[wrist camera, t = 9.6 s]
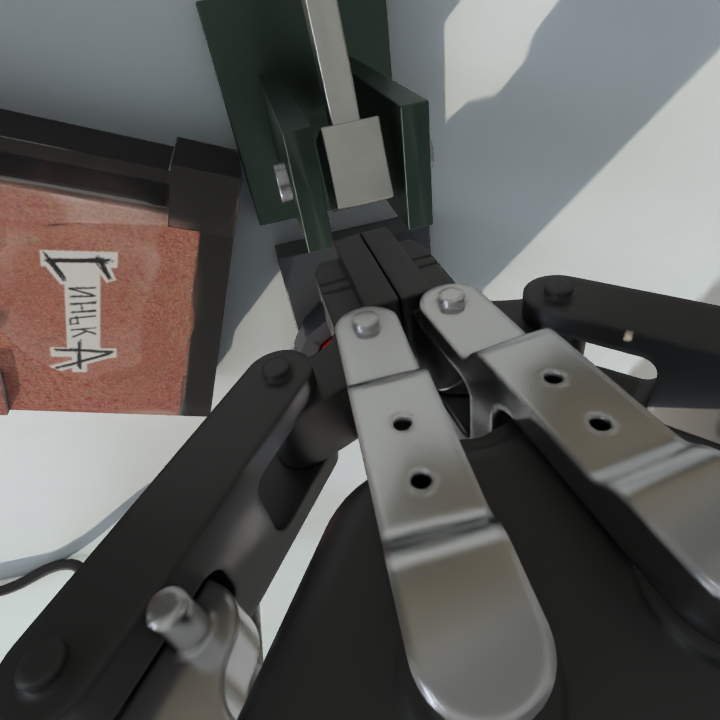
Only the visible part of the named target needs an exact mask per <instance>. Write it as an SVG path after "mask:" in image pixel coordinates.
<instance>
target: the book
mask: <svg viewBox="0 0 720 720" xmlns="http://www.w3.org/2000/svg"><path fill="white" fill-rule="evenodd" d="M241 181H242V177H241V168H240V160H239V151H237V150H233V149H228V148H224V147H219V146H215V145H211V144H206V143H202V142H197V141H193V140H189V139H184V138H180V137H178V138H177V142H176V145H175V147H172V146H168V145H163V144H159V143H154V142H150V141H145V140H141V139H136V138H131V137H127V136H122V135H118V134H113V133H109V132H104V131H100V130H95V129H90V128H86V127H81V126H77V125H72V124H68V123H63V122H59V121H54V120H49V119H45V118H40V117H36V116H31V115H27V114H22V113H18V112H13V111H9V110H4V109H0V415H7V414H8V412H9V410H36V411H64V412H93V413H122V414H151V415H179V416H208V415H209V414H210V413H211V405H212V398H213V390H214V382H215V375H216V367H217V359H218V352H219V344H220V336H221V329H222V321H223V313H224V306H225V298H226V290H227V282H228V275H229V267H230V259H231V252H232V244H233V237H234V234H235V227H236V219H237V211H238V204H239V196H240V189H241Z"/></svg>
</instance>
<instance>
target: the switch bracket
mask: <svg viewBox="0 0 720 720" xmlns="http://www.w3.org/2000/svg"><path fill="white" fill-rule="evenodd" d="M337 2H338V7H339V12H340V17H341V22H342V28H343V33H344V38H345V43H346V48H347V53H348V58H349V63H350V68H351V73H352V78H353V83H354V88H355V93H356V98H357V103H358V108H359V113H360V118H361V119H364V118H369V117H374V116H379V117H380V121H381V127H382V132H383V138H384V143H385V148H386V154H387V159H388V164H389V170H390V175H391V180H392V186H393V191H394V196H393V197H391V198H388V199H386V200H387V201H388V203H389V204H390V205H391V207H392V208H393V209H394V211H395V212H396V213H397V214H398V216H399V217H400V218H401V220H402V221H403V222H404V224H405V225H406V226H407V228H408V229H410V230H411V229H415V228H419V227H423V226H428V225H432V224H433V217H432V188H431V168H432V166H433V147H432V143H431V139H430V131H429V102H428V100H426V99H424V98H422V97H421V96H419V95H417V94H416V93H414V92H412V91H410V90H409V89H407V88H405V87H403V86H402V85H400V84H398V83H396V82H395V81H393V80H392V74H391V62H390V49H389V36H388V23H387V11H386V0H337ZM196 6H197V9H198V13H199V16H200V20H201V23H202V27H203V30H204V33H205V37H206V40H207V44H208V47H209V51H210V54H211V58H212V61H213V64H214V68H215V71H216V75H217V78H218V82H219V85H220V89H221V92H222V95H223V99H224V102H225V106H226V109H227V113H228V116H229V120H230V123H231V127H232V130H233V133H234V137H235V140H236V144H237V147H238V151H239V154H240V158H241V161H242V164H243V168H244V171H245V175H246V178H247V182H248V185H249V189H250V192H251V195H252V199H253V202H254V206H255V209H256V213H257V216H258V220H259V223H260V225H265V224H269V223H274V222H278V221H282V220H287V219H291V218H296V217H297V219H298V222H299V225H300V228H301V231H302V234H303V237H304V240H305V243H306V246H307V249H308V252H309V253H313V252H317V251H321V250H326V249H330V248H333V244H332V241H333V239H332V234H331V228H330V223H329V218H328V212H327V210H331V207H330V203H329V198H328V194H327V190H326V185H325V181H324V176H323V172H322V167H321V163H320V159H319V154H318V150H317V145H316V139H317V136H318V134H319V131H320V128H322V127H326V126H329V125H328V120H327V116H326V111H325V107H324V102H323V97H322V93H321V88H320V84H319V79H318V74H317V70H316V65H315V61H314V56H313V51H312V47H311V42H310V38H309V33H308V28H307V24H306V19H305V14H304V10H303V5H302V1H301V0H199V1H197V2H196Z"/></svg>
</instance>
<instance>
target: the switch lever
mask: <svg viewBox="0 0 720 720" xmlns="http://www.w3.org/2000/svg"><path fill="white" fill-rule="evenodd" d="M301 1H302V5H303V10H304V14H305V19H306V24H307V28H308V33H309V38H310V42H311V47H312V51H313V56H314V61H315V65H316V70H317V74H318V79H319V84H320V88H321V93H322V97H323V102H324V107H325V111H326V116H327V120H328V125H329V126H326V127H322V128H320V131H319V134H318V136H317V139H316V145H317V150H318V154H319V159H320V163H321V167H322V172H323V176H324V181H325V185H326V190H327V194H328V198H329V203H330V207H331V211H333V212H335V211H339V210H343V209H348V208H352V207H357V206H361V205H365V204H370V203H374V202H379V201H382V200H385V199H388V198H391V197H393V196H394V191H393V186H392V180H391V175H390V170H389V164H388V159H387V154H386V148H385V143H384V138H383V132H382V127H381V121H380V117H379V116H374V117H369V118H364V119H361V118H360V113H359V108H358V103H357V98H356V93H355V88H354V83H353V78H352V73H351V68H350V63H349V58H348V53H347V48H346V43H345V38H344V33H343V28H342V22H341V17H340V12H339V7H338V2H337V0H301Z"/></svg>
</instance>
